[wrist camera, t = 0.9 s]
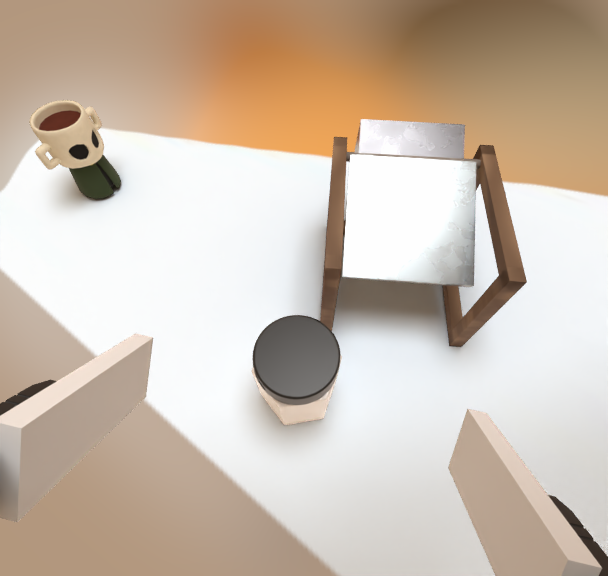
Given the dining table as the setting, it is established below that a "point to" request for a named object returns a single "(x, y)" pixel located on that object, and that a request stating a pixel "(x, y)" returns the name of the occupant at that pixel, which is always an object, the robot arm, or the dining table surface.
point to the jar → (296, 367)
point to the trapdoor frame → (457, 325)
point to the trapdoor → (410, 205)
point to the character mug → (74, 145)
